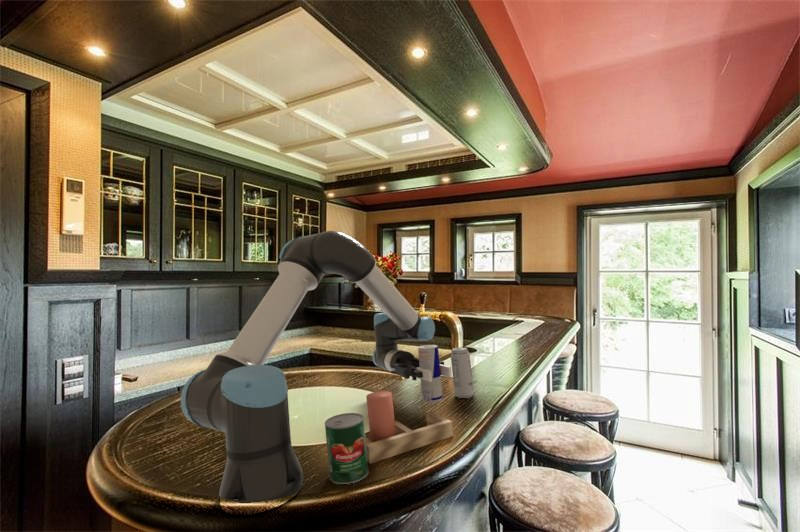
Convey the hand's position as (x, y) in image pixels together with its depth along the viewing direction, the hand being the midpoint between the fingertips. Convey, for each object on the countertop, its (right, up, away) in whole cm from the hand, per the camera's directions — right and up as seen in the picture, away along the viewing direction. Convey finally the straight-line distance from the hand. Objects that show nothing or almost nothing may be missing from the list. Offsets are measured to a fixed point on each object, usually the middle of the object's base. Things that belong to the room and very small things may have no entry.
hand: (440, 374), depth 99 cm
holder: (-10, -13, -10) cm, 19 cm away
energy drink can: (+10, -13, +20) cm, 25 cm away
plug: (-14, -13, -12) cm, 23 cm away
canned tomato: (-21, -14, -23) cm, 34 cm away
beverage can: (-2, -9, +4) cm, 10 cm away
